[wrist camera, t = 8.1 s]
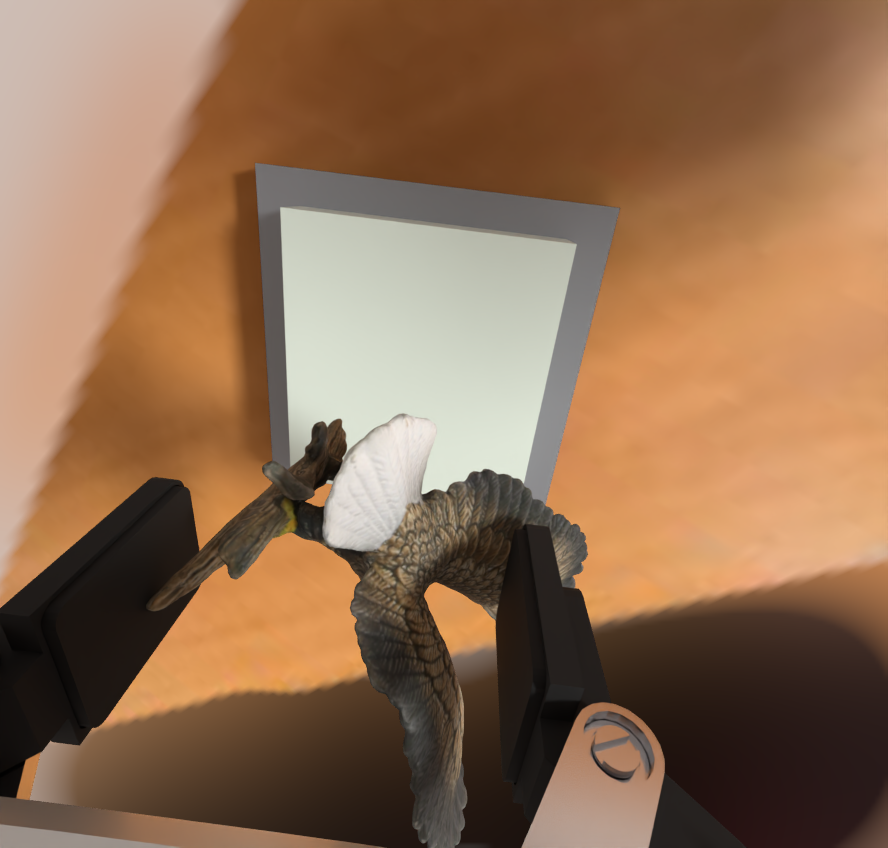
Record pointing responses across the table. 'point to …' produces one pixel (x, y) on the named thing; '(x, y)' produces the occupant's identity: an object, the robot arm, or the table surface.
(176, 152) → the table surface
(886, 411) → the table surface
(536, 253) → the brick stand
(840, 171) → the table surface
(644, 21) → the table surface
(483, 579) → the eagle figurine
